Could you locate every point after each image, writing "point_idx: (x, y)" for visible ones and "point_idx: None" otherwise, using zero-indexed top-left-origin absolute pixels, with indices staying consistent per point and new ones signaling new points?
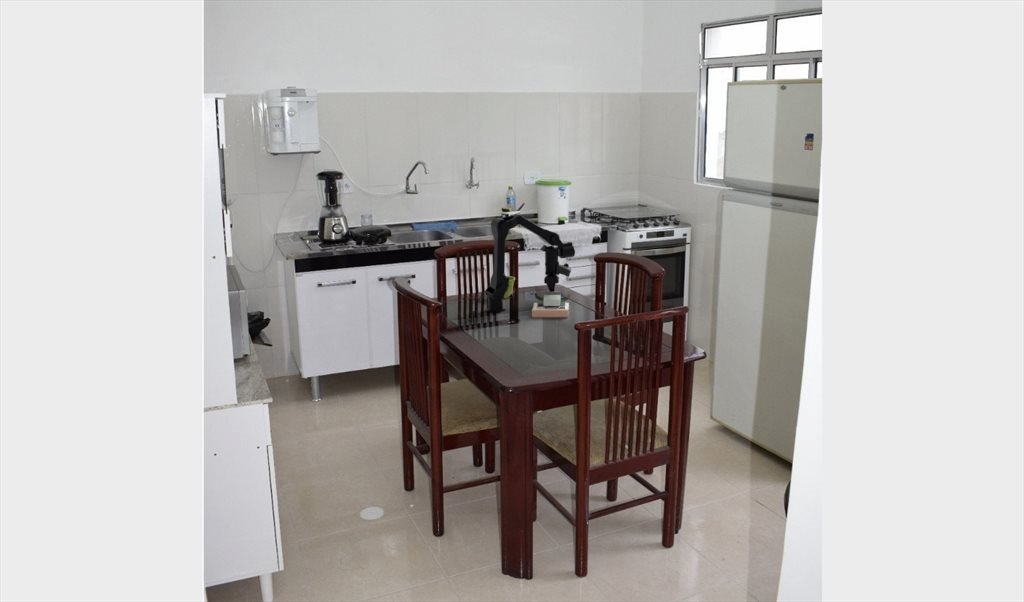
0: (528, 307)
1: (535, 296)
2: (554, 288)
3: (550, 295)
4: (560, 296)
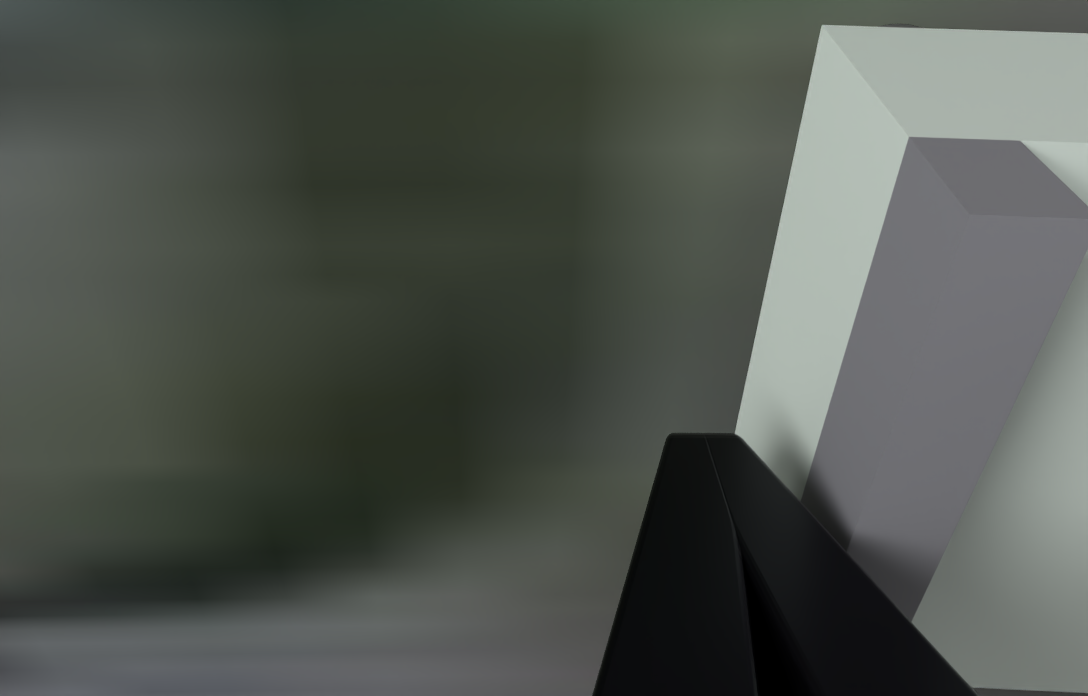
0: (1018, 690)
1: (114, 614)
2: (947, 664)
3: (1050, 542)
4: (921, 90)
